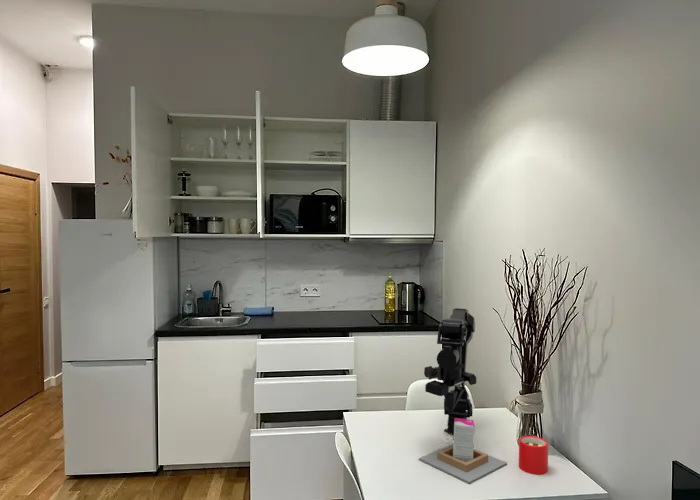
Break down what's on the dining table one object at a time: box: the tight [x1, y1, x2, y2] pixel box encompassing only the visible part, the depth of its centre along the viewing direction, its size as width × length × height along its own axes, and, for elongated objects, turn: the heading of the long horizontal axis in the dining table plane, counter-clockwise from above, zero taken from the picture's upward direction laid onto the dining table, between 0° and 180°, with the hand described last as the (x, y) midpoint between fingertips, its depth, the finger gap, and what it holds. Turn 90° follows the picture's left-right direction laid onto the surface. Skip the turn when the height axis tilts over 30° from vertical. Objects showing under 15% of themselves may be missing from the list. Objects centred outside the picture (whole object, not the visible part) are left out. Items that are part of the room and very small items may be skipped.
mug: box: [518, 435, 549, 476], centre depth 142 cm, size 8×12×8 cm, turn 154°
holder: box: [418, 444, 508, 485], centre depth 143 cm, size 18×18×3 cm
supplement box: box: [452, 418, 475, 462], centre depth 143 cm, size 6×6×12 cm
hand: (451, 410), depth 151 cm, fingers closed
